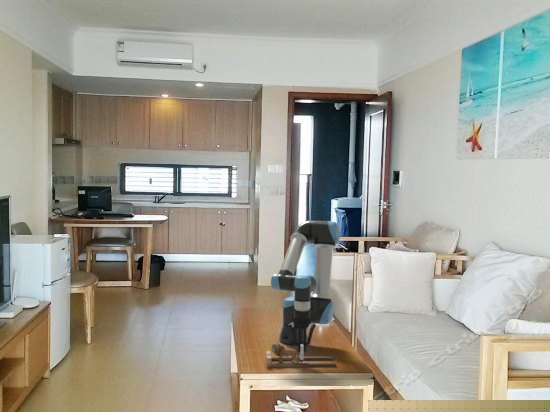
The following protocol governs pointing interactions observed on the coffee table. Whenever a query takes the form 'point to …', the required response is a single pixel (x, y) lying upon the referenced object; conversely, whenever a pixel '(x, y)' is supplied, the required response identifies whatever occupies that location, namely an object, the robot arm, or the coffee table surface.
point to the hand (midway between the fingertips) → (301, 358)
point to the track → (269, 364)
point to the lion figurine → (284, 352)
